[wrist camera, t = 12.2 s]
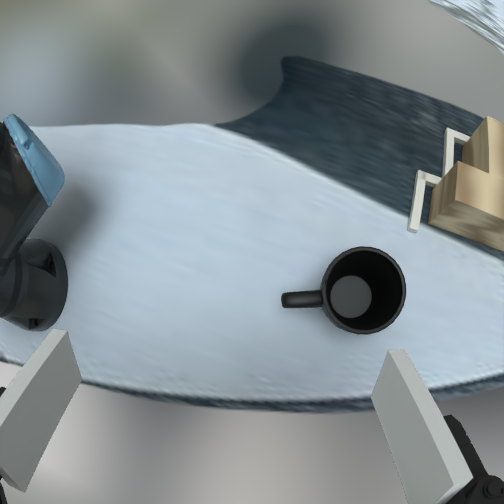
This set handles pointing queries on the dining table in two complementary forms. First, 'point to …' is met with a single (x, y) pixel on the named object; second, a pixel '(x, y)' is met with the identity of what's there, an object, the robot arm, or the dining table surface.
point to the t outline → (432, 180)
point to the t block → (474, 189)
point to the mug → (357, 291)
